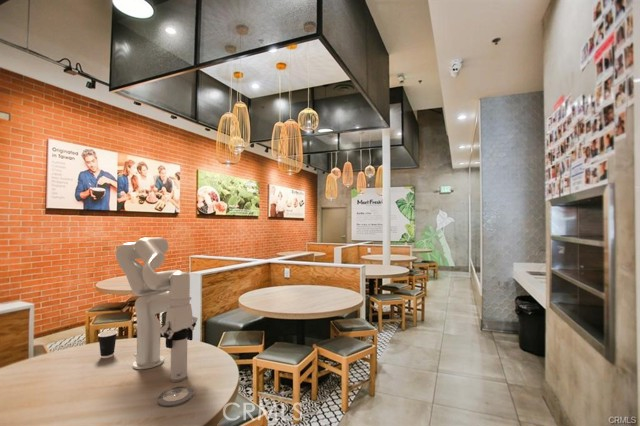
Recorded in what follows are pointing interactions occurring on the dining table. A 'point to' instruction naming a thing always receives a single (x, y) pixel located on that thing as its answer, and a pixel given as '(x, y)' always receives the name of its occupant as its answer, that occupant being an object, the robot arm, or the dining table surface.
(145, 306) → the robot arm
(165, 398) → the gray rimmed disc
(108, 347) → the dixie cup
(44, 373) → the dining table surface
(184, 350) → the travel mug
